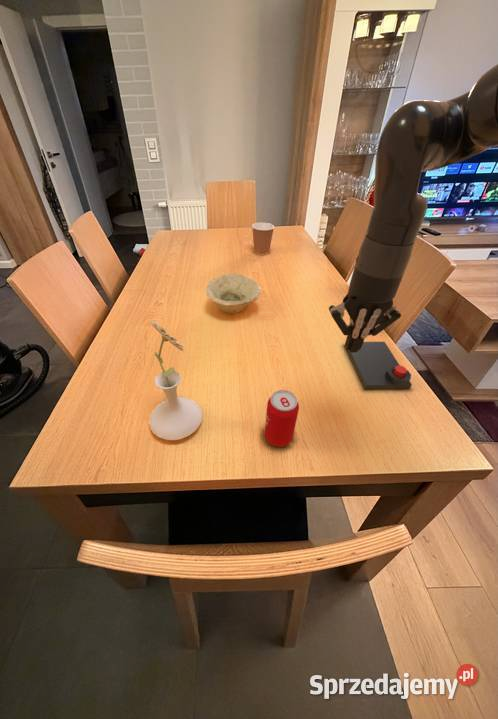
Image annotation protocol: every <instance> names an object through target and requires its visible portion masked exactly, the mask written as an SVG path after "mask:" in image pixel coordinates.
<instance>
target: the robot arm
mask: <svg viewBox="0 0 498 719" xmlns="http://www.w3.org/2000/svg"><path fill="white" fill-rule="evenodd" d="M494 147H498V63H497V64H496V65H494V66H492V67H491V68H490V69H488V70H487V71H486V72H485V73H483V74H482V75H481V76H480V77H479V79H478V80H477V81H476V82H475V84H474V85H473V87H472V89H471V90H469V91H467V92H465V93H463V94H461V95H460V96H456V97H454V98H451V99H449V100H443V101H441V100H427V99H415V100H410V101H407V102H406V103H404V104H402V105H400V106H399V107H398V108H397V109H396V110H395V111H394V112H393V113H392V115H391V116H390V117H389V118H388V120H387V122H385V125H384V127H383V129H382V132H381V134H380V136H379V139H378V143H377V147H376V154H375V166H374V185H373V207H372V210H371V212H370V216H369V220H368V224H367V227H366V230H365V234H364V237H363V240H362V242H361V244H360V247H359V249H358V254H357V255H356V258H355V263H354V267H353V271H352V275H351V278H350V282H349V286H348V291H347V293H346V295H345V296H344V297H343V298H342V302H341V303H339V304H337V305H336V306H335V305H334V304H331V305H329V307H328V310H329V313H330V315H331V318H332V319H333V320H334V322H335V324H336V325H337V327H338V329H339V331H341V333H342V334H343V336H346V339H345V342H344V346H346V348H347V350H348V351H349V353H357V352H358V350H360V349H361V347H362V345H363V342H365V339H366V338H368V336H373V337H376V336H378V335H379V334H380V333H381V332H382V331H384V330H385V329H386V328H388V327H390V326H391V325H392V324H394V323H395V322H396V321H397V320H399V319H400V318H401V317H402V314H401V312H400V311H399V309H398V308H397V307H396V306H394V299H395V297H396V295H397V292H398V290H399V288H400V284H401V283H402V280H403V277H404V275H405V272H406V270H407V267H408V265H409V263H410V260H411V257H412V252H413V249H414V245H415V242H416V239H417V237H418V234H419V232H420V229H421V227H422V224H423V222H424V219H425V216H426V213H427V210H428V199H427V198H426V196H424V195H423V194H421V193H418V192H419V185H420V180H421V175H422V172H430V171H435V170H439V169H444V168H445V167H449V166H453V165H454V164H457V163H460V162H462V161H464V160H465V161H466V160H467V159H470V158H472V157H473V156H476V155H479V154H481V153H483V152H485V151H488V150H489V149H491V148H494ZM345 310H346V313H347V315H348V316H349V324H347V322H346V321H345V320H344V317H345Z"/></svg>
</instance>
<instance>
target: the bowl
mask: <svg viewBox="0 0 498 719" xmlns="http://www.w3.org/2000/svg"><path fill="white" fill-rule="evenodd" d="M205 295H206V297H207V298H208V299H209V300H210V301H212V302H213V303H214V304H216V305H217V306H218V307H219V308H220V310H222V311H223V312H225V313H227V314H237V313H241V312H242V311H243V310H244V309H246V308H247V307H248V306H249V305H250V304H251V303H252V302H254V301H257V300H258V299H259V297H260V295H261V287H260V285H259V284H258V282H256V280H254V279H252V278H251V277H249V276H247V275H244V274H237V273H224V274H222V275H221V276H218V277H215V278H213V279H211V280H210V281H209V282H208V283H207V285H206V289H205Z"/></svg>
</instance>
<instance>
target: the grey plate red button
mask: <svg viewBox="0 0 498 719" xmlns="http://www.w3.org/2000/svg"><path fill="white" fill-rule="evenodd" d="M343 346H344V349H345V351H346V353H347V355H348V358H349V359H350V362H351V364H352V366H353V368H354V370H355V373H356V374H357V377H358V380H359V382H360V383H361V385H362V387H363V389H364V390H365V391H376V390H378V391H380V390H381V391H383V390H386V391H387V390H410V389H411V387H412V385H413V383H412V381H410V380H411V379H412V374H411V372H410V371H409V370H408V369H406V370H407V372H406V374H405V376H404V377H403V378H400V377H397V376H395V375H394V374H393V371H394V369H395V367H396V366H401V365H400V364H399V362H398V360H397V359H396V357H395V356H394V354H393V352H392V351H391V349H390V347H389V346H388V344H387V343H386V342H385V341H364V342H363V345H362V347H361V349H360V350H358V352H357V353H349V351H348V350H347V348H346V346H345V345H343Z"/></svg>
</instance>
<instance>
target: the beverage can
mask: <svg viewBox="0 0 498 719" xmlns="http://www.w3.org/2000/svg"><path fill="white" fill-rule="evenodd" d="M299 410H300V404H299V402H298V397H297V396H296V395H295V393H293V392H291V391H289V390H285V389H280V390H276V391H274V392H273V393H272V394H271V396H270V397H269V398H268V400H267V403H266V414H265V424H264V434H263V435H264V437H265V439H266V442H268V443H269V444H271V445H272V446H275V447H280V448H281V447H285V446H288V445H289V444H290V443H292V441H293V438H294V434H295V430H296V425H297V420H298V414H299Z"/></svg>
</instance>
